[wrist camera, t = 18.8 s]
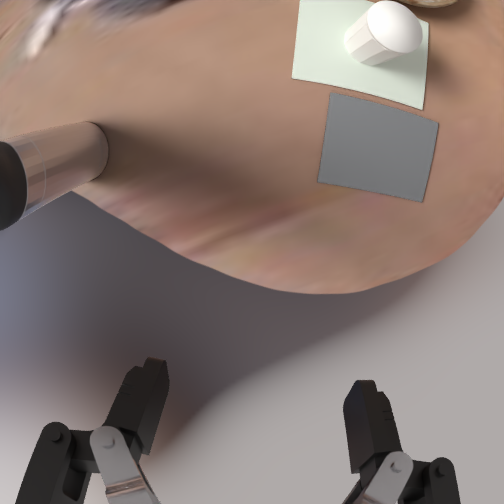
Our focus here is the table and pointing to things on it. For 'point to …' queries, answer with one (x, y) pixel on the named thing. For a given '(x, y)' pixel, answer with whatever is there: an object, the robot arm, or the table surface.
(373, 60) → the white lidded canister
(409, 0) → the ceramic bowl
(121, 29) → the table surface
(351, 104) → the mat
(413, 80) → the board
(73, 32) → the table surface
